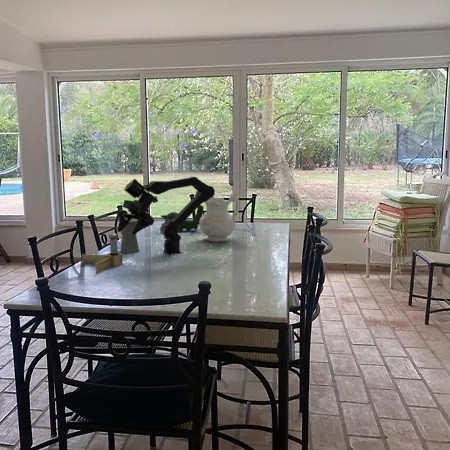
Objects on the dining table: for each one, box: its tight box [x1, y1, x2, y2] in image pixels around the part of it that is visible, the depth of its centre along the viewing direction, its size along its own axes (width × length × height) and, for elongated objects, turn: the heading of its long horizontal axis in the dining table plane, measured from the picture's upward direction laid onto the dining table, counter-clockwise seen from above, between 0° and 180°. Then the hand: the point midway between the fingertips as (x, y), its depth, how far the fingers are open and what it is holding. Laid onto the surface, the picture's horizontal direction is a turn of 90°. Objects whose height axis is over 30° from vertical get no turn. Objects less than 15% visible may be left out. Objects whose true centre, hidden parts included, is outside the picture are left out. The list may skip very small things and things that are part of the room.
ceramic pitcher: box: [198, 193, 240, 243], centre depth 241 cm, size 22×20×25 cm
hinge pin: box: [108, 233, 119, 256], centre depth 191 cm, size 4×4×13 cm
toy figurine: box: [160, 204, 205, 232], centre depth 267 cm, size 9×19×25 cm
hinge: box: [81, 252, 124, 274], centre depth 190 cm, size 14×19×4 cm
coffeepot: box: [120, 219, 140, 254], centre depth 216 cm, size 15×9×18 cm, turn 33°
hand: (125, 232), depth 195 cm, fingers open, 9 cm apart
